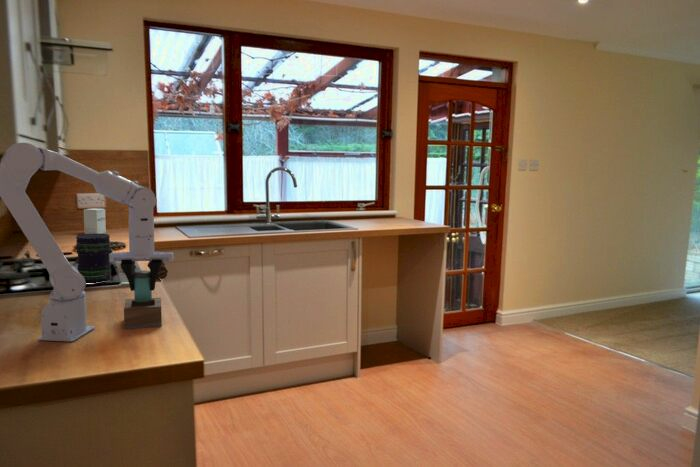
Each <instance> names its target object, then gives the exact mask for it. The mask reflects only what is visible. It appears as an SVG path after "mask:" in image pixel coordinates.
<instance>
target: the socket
mask: <svg viewBox="0 0 700 467" xmlns="http://www.w3.org/2000/svg"><path fill="white" fill-rule="evenodd" d="M162 319H163V318H162V297H152V300H151V301H147V302H136V301H135V299H134V298H132V299H131V298H130V299H129V298H128V299H125V302H124V306H123V320H124V321H123V324H124V327H123V328H124V330H130V329H131V330H132V329H144V328H145V329H146V328H157V327H162V326H163V324H162V321H163V320H162Z"/></svg>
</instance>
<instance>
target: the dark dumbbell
mask: <svg viewBox="0 0 700 467" xmlns="http://www.w3.org/2000/svg"><path fill="white" fill-rule="evenodd" d="M151 262H152V261H148V263H147V264H146V265H147V267H148V269H149V270H150V263H151ZM168 272H169V271H168V269H167V268H166V264H165V263H164V262H163V263H162V265H161V268H160V270H159V273H158V275H157V279H159V280H164V279H166V278H167V276H168Z"/></svg>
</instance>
